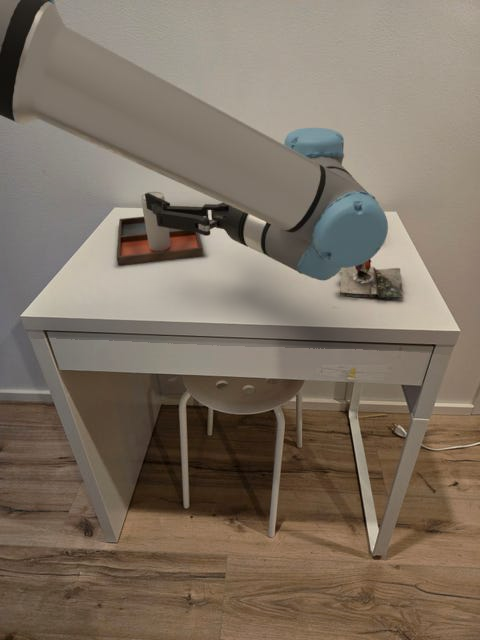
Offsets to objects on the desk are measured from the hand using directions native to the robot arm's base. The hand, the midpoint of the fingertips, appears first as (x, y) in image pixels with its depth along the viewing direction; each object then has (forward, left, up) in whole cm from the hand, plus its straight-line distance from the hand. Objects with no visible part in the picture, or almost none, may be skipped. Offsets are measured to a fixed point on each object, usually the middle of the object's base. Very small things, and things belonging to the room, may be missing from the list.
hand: (178, 190), depth 82 cm
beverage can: (-5, +8, -16) cm, 18 cm away
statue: (+34, -16, -16) cm, 41 cm away
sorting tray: (-5, +13, -16) cm, 21 cm away
